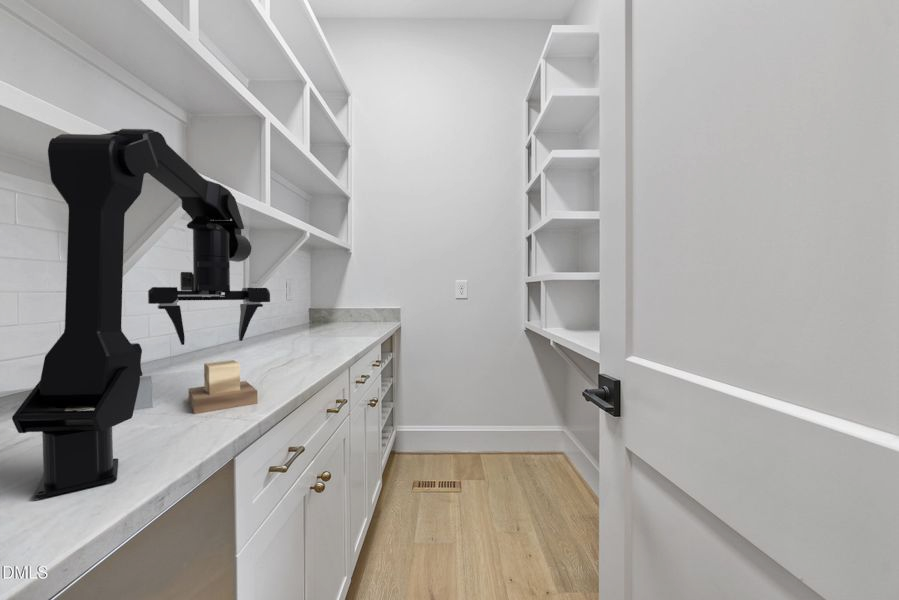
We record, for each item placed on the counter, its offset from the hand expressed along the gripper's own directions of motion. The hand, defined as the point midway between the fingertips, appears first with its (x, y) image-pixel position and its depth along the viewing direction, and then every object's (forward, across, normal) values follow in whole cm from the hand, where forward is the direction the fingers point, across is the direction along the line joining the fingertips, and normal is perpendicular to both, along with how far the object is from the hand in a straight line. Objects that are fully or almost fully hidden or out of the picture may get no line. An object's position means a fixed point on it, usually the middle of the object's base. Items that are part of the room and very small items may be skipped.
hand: (212, 342), depth 73 cm
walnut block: (+12, -2, -2) cm, 12 cm away
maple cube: (+9, -2, -1) cm, 9 cm away
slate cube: (+12, +11, -8) cm, 18 cm away
